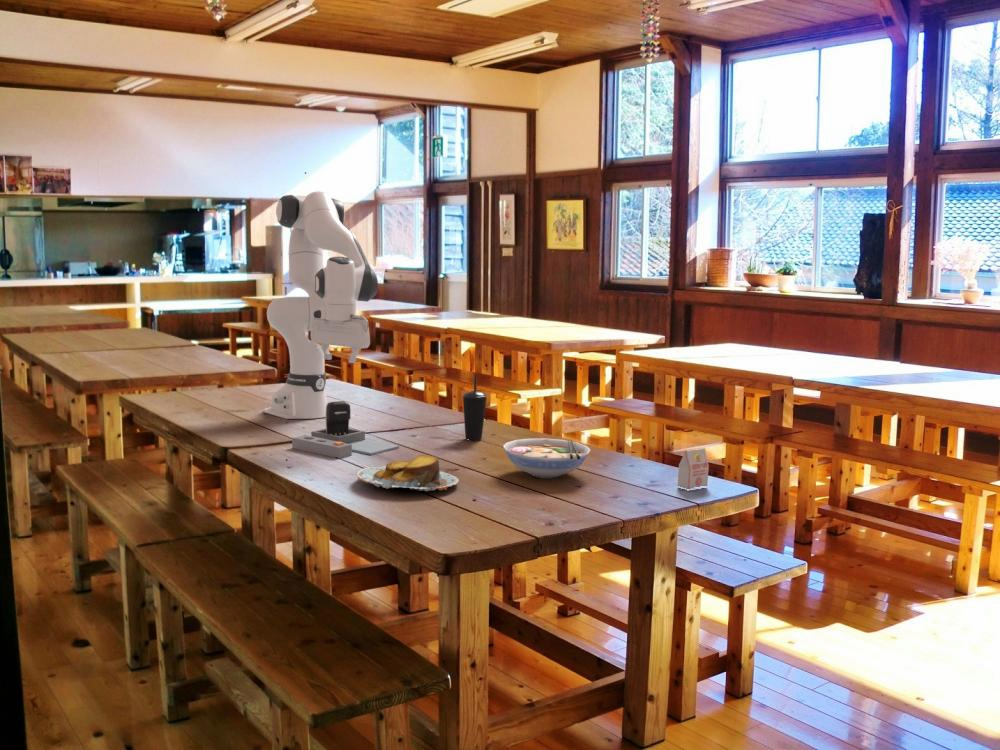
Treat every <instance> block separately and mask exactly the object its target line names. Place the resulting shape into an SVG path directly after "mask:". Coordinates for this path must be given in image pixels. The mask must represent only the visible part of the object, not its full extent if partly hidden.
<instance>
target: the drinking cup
mask: <svg viewBox="0 0 1000 750" xmlns="http://www.w3.org/2000/svg"><path fill="white" fill-rule="evenodd" d="M473 376H474V377H473V390H469V391H467V392H465V393H462V394H461V396H462V402H463V416H464V417H463V418H464V419H463V420H464V434H465V437H464V438H465V440H466V439H469V440H480V439H481V440H482V438H483V431H484V430H483V429H484V423H485V413H486V404H487V398H488V394H487V393H485V392H483V391H480V390H477V376H478V375H477V373H474V375H473ZM469 440H468V441H469ZM481 440H480V441H481Z"/></svg>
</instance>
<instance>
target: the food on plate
mask: <svg viewBox="0 0 1000 750" xmlns="http://www.w3.org/2000/svg"><path fill="white" fill-rule="evenodd" d="M355 475H356V477H357V481H359V480H360V481H362V482H364V483H366V484H370V485H373V486H375V487H377V488H379V487H382V488H385V489H387V490H388V489H390V488H391V489H393V488H403V489H405V488H406V489H407V488H409V490H415V491H419V492H424V491H425V492H429V491H435V490H438V491H443V490H445V491H446V490H448V489H447V488H449V487H450V488H451V487H453V486H455V485H457V484H459V483H460V480H459V477H457V476H454V475H452V474H450V473H449V472H444V471H442V470H441V471H440V463H439V459H438V457H436V456H433V455H428V454H427V455H426V454H419V455H417V456H416V457H415V458H414V459H412V460H411V461H410V460H409V461H408V460H407V461H406V460H396V461H391V462H389V463H387V464H386V465H383V466H372V467H371V466H370V467H369V466H368V467H365V468H361V469H358V470H357V472H356V474H355ZM441 479H445V480H446V481H447V483H446V484H447V485H446V486H443V487H441V486H442V485H441V481H439V480H441Z"/></svg>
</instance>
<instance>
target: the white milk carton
mask: <svg viewBox="0 0 1000 750" xmlns="http://www.w3.org/2000/svg"><path fill="white" fill-rule="evenodd" d="M707 457H708V456H707V453H706V448H697V449H695V448H694V449H689V450H684V453H683V455H682V458H681V459H680V462H679V464H678V471H677V472H678V473H677V486H680V487H683V488H686V489H691V488H694V487H700V486H707V487H708V483H709V481H708V480H709V469H710V468H709V467H710V466H709V462H708V458H707Z"/></svg>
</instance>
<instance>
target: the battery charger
mask: <svg viewBox="0 0 1000 750" xmlns="http://www.w3.org/2000/svg"><path fill="white" fill-rule="evenodd" d="M350 420H351V405H350V404H349V402H347V401H346V400H334V401H329V402H327V405H326V417H325V429H326V434H331V435H336V436H342V435H346V434H349V430H348V428H350V427H349V426H350V425H349V423H350Z"/></svg>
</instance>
